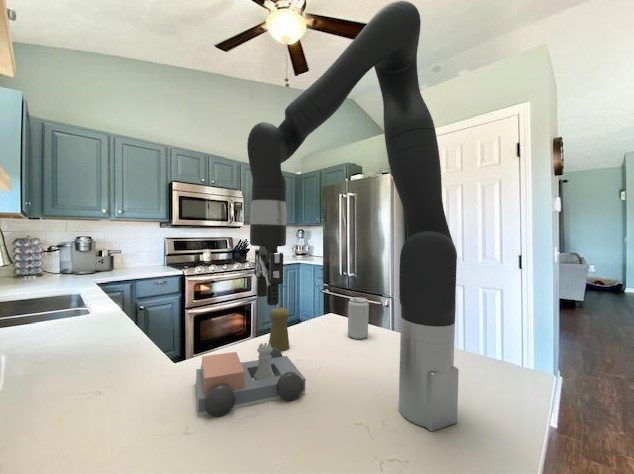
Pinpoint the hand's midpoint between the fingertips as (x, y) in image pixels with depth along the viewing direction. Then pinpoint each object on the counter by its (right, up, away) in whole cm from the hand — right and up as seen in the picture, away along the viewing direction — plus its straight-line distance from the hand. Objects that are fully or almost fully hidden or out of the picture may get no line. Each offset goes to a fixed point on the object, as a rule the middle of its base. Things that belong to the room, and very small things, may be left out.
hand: (266, 300), depth 62 cm
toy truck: (-3, -18, -1) cm, 18 cm away
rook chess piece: (-1, -18, 0) cm, 18 cm away
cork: (0, -18, +21) cm, 28 cm away
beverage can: (+23, -19, +32) cm, 44 cm away
